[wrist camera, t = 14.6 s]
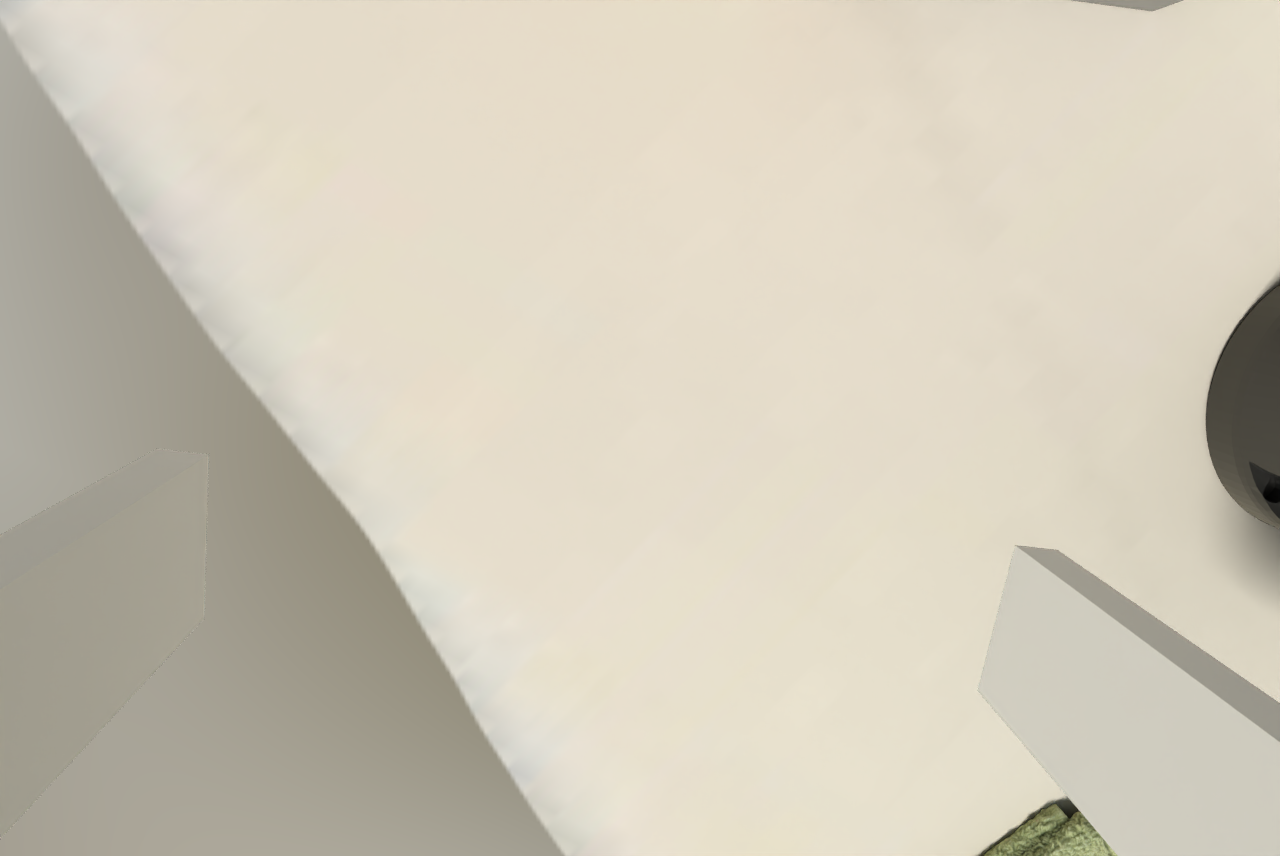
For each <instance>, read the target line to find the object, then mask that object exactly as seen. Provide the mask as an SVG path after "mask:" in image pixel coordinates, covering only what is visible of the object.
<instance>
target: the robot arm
mask: <svg viewBox="0 0 1280 856" xmlns="http://www.w3.org/2000/svg"><path fill="white" fill-rule="evenodd" d="M1206 431H1207V441H1208V448H1209V452H1210V456H1211V459H1212V463H1213V466H1214V468H1215V470H1216V473H1217V475H1218V477H1219V479H1220V481H1221V483H1222V484H1223V486H1224V487H1225V489H1226V490H1227V492H1228V493H1229V494H1230V495H1231V497H1232V498H1233V499H1234V500H1235V501H1236V502H1237V503H1238V504H1239V505H1240V506H1241V507H1242V508H1243V509H1244V510H1246V511H1247V512H1248V513H1250V514H1251V515H1252V516H1254V517H1256V518H1257V519H1259V520H1261V521H1263V522H1265V523H1267V524H1269V525H1272V526H1274V527H1276V528H1278V529H1280V285H1279V286H1277V287H1276V288H1275V289H1274V290H1272V291H1271V292H1270V293H1269V294H1268V295H1267V296H1265V297H1264V298H1263V299H1262V300H1261V301H1260V302H1259V303H1258V304H1257V305H1256V306H1255V308H1254V309H1253V310H1252V311H1251V312H1250V313H1249V314H1248V316H1247V317H1246V318H1245V319H1244V321H1243V322H1242V323H1241V324H1240V326H1239V327H1238V329H1237V330H1236V332H1235V333H1234V335H1233V336H1232V338H1231V340H1230V341H1229V343H1228V345H1227V347H1226V349H1225V350H1224V352H1223V354H1222V357H1221V359H1220V361H1219V363H1218V366H1217V369H1216V371H1215V374H1214V377H1213V381H1212V384H1211V388H1210V393H1209V398H1208V404H1207V414H1206ZM208 470H209V454H200V453H191V452H182V451H174V450H165V449H155V450H153V451H151V452H149V453H148V454H146V455H144V456H142V457H140V458H139V459H137V460H135V461H133V462H131V463H129V464H128V465H126V466H124V467H122V468H120V469H119V470H117V471H115V472H113V473H111V474H109V475H108V476H106V477H104V478H102V479H100V480H99V481H97V482H95V483H93V484H91V485H90V486H88V487H86V488H84V489H82V490H80V491H79V492H77V493H75V494H73V495H71V496H70V497H68V498H66V499H64V500H62V501H61V502H59V503H57V504H55V505H53V506H51V507H50V508H48V509H46V510H44V511H42V512H41V513H39V514H37V515H35V516H33V517H32V518H30V519H28V520H26V521H24V522H22V523H21V524H19V525H17V526H15V527H13V528H12V529H10V530H8V531H6V532H4V533H3V534H1V535H0V839H1V838H2V837H3V836H4V835H5V833H7V832H8V830H9V829H10V828H11V827H12V826H13V825H14V824H15V823H16V822H17V821H18V819H19V818H20V817H21V816H22V815H23V814H24V813H25V812H26V811H27V810H28V809H29V808H30V807H31V806H32V804H33V803H34V802H35V801H36V800H37V799H38V798H39V797H40V796H41V795H42V794H43V793H44V792H45V790H46V789H47V788H48V787H49V786H50V785H51V784H52V783H53V782H54V781H55V780H56V779H57V777H58V776H59V775H60V774H61V773H62V772H63V771H64V770H65V769H66V768H67V767H68V765H69V764H70V763H71V762H72V761H73V760H74V759H75V758H76V757H77V756H78V755H79V754H80V752H81V751H82V750H83V749H84V748H85V747H86V746H87V745H88V744H89V743H90V742H91V741H92V740H93V739H94V737H95V736H96V735H97V734H98V733H99V732H100V731H101V730H102V729H103V728H104V727H105V725H106V724H107V723H108V722H109V721H110V720H111V719H112V718H113V717H114V716H115V715H116V714H117V712H119V710H120V709H121V708H122V707H123V706H124V705H125V704H126V703H127V702H128V701H129V700H130V698H131V697H132V696H133V695H134V694H135V693H136V692H137V691H138V690H139V689H140V688H141V687H142V686H143V684H144V683H145V682H146V681H147V680H148V679H149V678H150V677H151V676H152V675H153V674H154V672H156V670H157V669H158V668H159V667H160V666H161V665H162V664H163V663H164V662H165V661H166V660H167V658H168V657H169V656H170V655H171V654H172V653H173V652H174V651H175V650H176V649H177V648H178V647H179V646H180V644H181V643H182V642H183V641H184V640H185V639H186V638H187V637H188V636H189V635H190V633H192V631H193V630H194V629H195V628H196V627H197V626H198V625H199V624H200V623H201V622H202V621H203V620H204V614H205V578H206V543H207V542H206V541H207V507H208V506H207V505H208ZM977 691H978V692H979V693H980V694H981V695H982V697H983V698H984V699H985V700H986V701H987V703H988V704H989V705H990V706H991V707H992V708H993V710H994V711H995V712H996V713H997V714H998V715H999V717H1000V718H1001V719H1002V720H1003V721H1004V723H1005V724H1006V725H1007V726H1008V727H1009V728H1010V730H1011V731H1012V732H1013V733H1014V734H1015V735H1016V737H1017V738H1018V739H1019V740H1020V741H1021V743H1022V744H1023V745H1024V746H1025V747H1026V748H1027V750H1028V751H1029V752H1030V753H1031V754H1032V755H1033V757H1034V758H1035V759H1036V760H1037V761H1038V763H1039V764H1040V765H1041V766H1042V767H1043V768H1044V770H1045V771H1046V772H1047V773H1048V774H1049V775H1050V777H1051V778H1052V779H1053V780H1054V781H1055V783H1056V784H1057V785H1058V786H1059V787H1060V788H1061V790H1062V791H1063V792H1064V793H1065V794H1066V795H1067V797H1068V798H1069V799H1070V800H1071V801H1072V803H1073V804H1074V805H1075V806H1076V807H1077V808H1078V810H1079V811H1080V812H1081V813H1082V814H1083V815H1084V817H1085V818H1086V819H1087V820H1088V821H1089V823H1090V824H1091V825H1092V826H1093V827H1094V828H1095V830H1096V831H1097V832H1098V833H1099V834H1100V835H1101V837H1102V838H1103V839H1104V840H1105V841H1106V842H1107V844H1108V845H1109V846H1110V847H1111V848H1112V850H1113V851H1114V852H1115V853H1116V854H1117V855H1118V856H1280V703H1279V702H1277V701H1276V700H1274V699H1273V698H1271V697H1270V696H1269V695H1267V694H1266V693H1264V692H1263V691H1261V690H1260V689H1258V688H1257V687H1255V686H1254V685H1253V684H1251V683H1250V682H1248V681H1247V680H1245V679H1244V678H1242V677H1241V676H1240V675H1238V674H1237V673H1235V672H1234V671H1232V670H1231V669H1229V668H1228V667H1226V666H1225V665H1224V664H1222V663H1221V662H1219V661H1218V660H1216V659H1215V658H1213V657H1212V656H1211V655H1209V654H1208V653H1206V652H1205V651H1203V650H1202V649H1200V648H1199V647H1197V646H1196V645H1195V644H1193V643H1192V642H1190V641H1189V640H1187V639H1186V638H1184V637H1183V636H1181V635H1180V634H1179V633H1177V632H1176V631H1174V630H1173V629H1171V628H1170V627H1168V626H1167V625H1166V624H1164V623H1163V622H1161V621H1160V620H1158V619H1157V618H1155V617H1154V616H1152V615H1151V614H1150V613H1148V612H1147V611H1145V610H1144V609H1142V608H1141V607H1139V606H1138V605H1137V604H1135V603H1134V602H1132V601H1131V600H1129V599H1128V598H1126V597H1125V596H1123V595H1122V594H1121V593H1119V592H1118V591H1116V590H1115V589H1113V588H1112V587H1110V586H1109V585H1107V584H1106V583H1105V582H1103V581H1102V580H1100V579H1099V578H1097V577H1096V576H1094V575H1093V574H1092V573H1090V572H1089V571H1087V570H1086V569H1084V568H1083V567H1081V566H1080V565H1078V564H1077V563H1076V562H1074V561H1073V560H1071V559H1070V558H1068V557H1067V556H1065V555H1064V554H1063V553H1061V552H1060V551H1058V550H1053V549H1044V548H1035V547H1026V546H1017V545H1015V548H1014V552H1013V556H1012V559H1011V563H1010V567H1009V571H1008V575H1007V579H1006V582H1005V586H1004V590H1003V594H1002V598H1001V602H1000V606H999V609H998V613H997V617H996V621H995V625H994V629H993V633H992V636H991V640H990V644H989V648H988V652H987V656H986V659H985V663H984V667H983V671H982V675H981V679H980V683H979V686H978V690H977Z"/></svg>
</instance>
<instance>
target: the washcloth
mask: <svg viewBox="0 0 1280 856" xmlns="http://www.w3.org/2000/svg"><path fill="white" fill-rule="evenodd" d="M983 856H1118V855H1117V854H1116V853H1115V852H1114V851H1113V850H1112V848H1111V847H1110V846H1109V845H1108V844H1107V842H1106V841H1105V840H1104V839H1103V838H1102V837H1101V835H1100V834H1099V833H1098V832H1097V831H1096V830H1095V828H1094V827H1093V826H1092V825H1091V824H1090V823H1089V821H1088V820H1087V819H1086V818H1085V817H1084V815H1083V814H1082V813H1081V812H1080V811H1079V812H1076V813H1075V814H1073V816H1072V818H1071V819H1069V818H1068V817H1067V816H1066V815H1065V814H1064V812H1063V811H1062V810H1061V809H1060V808H1059V807H1058V806H1057V804H1053V805H1051V806H1049V807H1048V808H1046V809H1041V812H1040V813H1039V814H1037V815H1036V816H1035V817H1034V818H1033V819H1030V820H1029V821H1028V822H1026V823H1025V824H1024V825H1022V826H1020V827H1019V828H1018V829H1017V830H1016V831H1015V833H1013V834H1011V835H1010V836H1009V837H1008V838H1006V839H1004V840H1003V841H1002V842H1000V843H999V844H998V845H995V846H993V847H992V848H991V850H989V851H987V852H986V854H985V855H983Z"/></svg>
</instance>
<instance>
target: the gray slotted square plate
mask: <svg viewBox="0 0 1280 856" xmlns="http://www.w3.org/2000/svg"><path fill="white" fill-rule="evenodd" d="M1073 1H1081V2H1088V3H1095V4H1103V5H1110V6H1118V7H1125V8H1132V9H1140V10H1147V11H1155V10H1158V9H1160V8H1163V7H1166V6H1169V5H1172V4H1174V3H1177V2H1180V1H1183V0H1073Z"/></svg>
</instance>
